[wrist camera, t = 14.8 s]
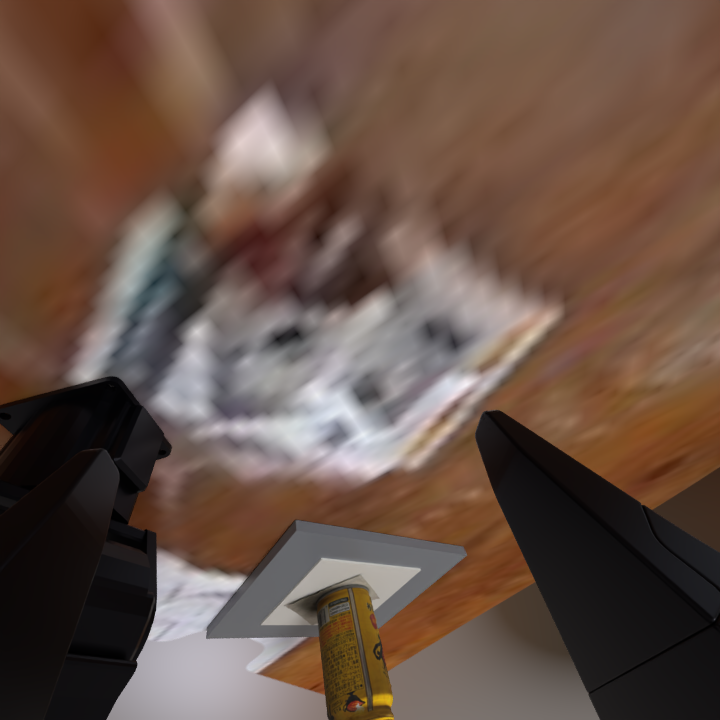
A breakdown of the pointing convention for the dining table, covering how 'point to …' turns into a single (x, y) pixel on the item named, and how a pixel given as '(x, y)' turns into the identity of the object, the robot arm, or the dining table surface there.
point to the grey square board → (330, 577)
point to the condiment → (350, 651)
